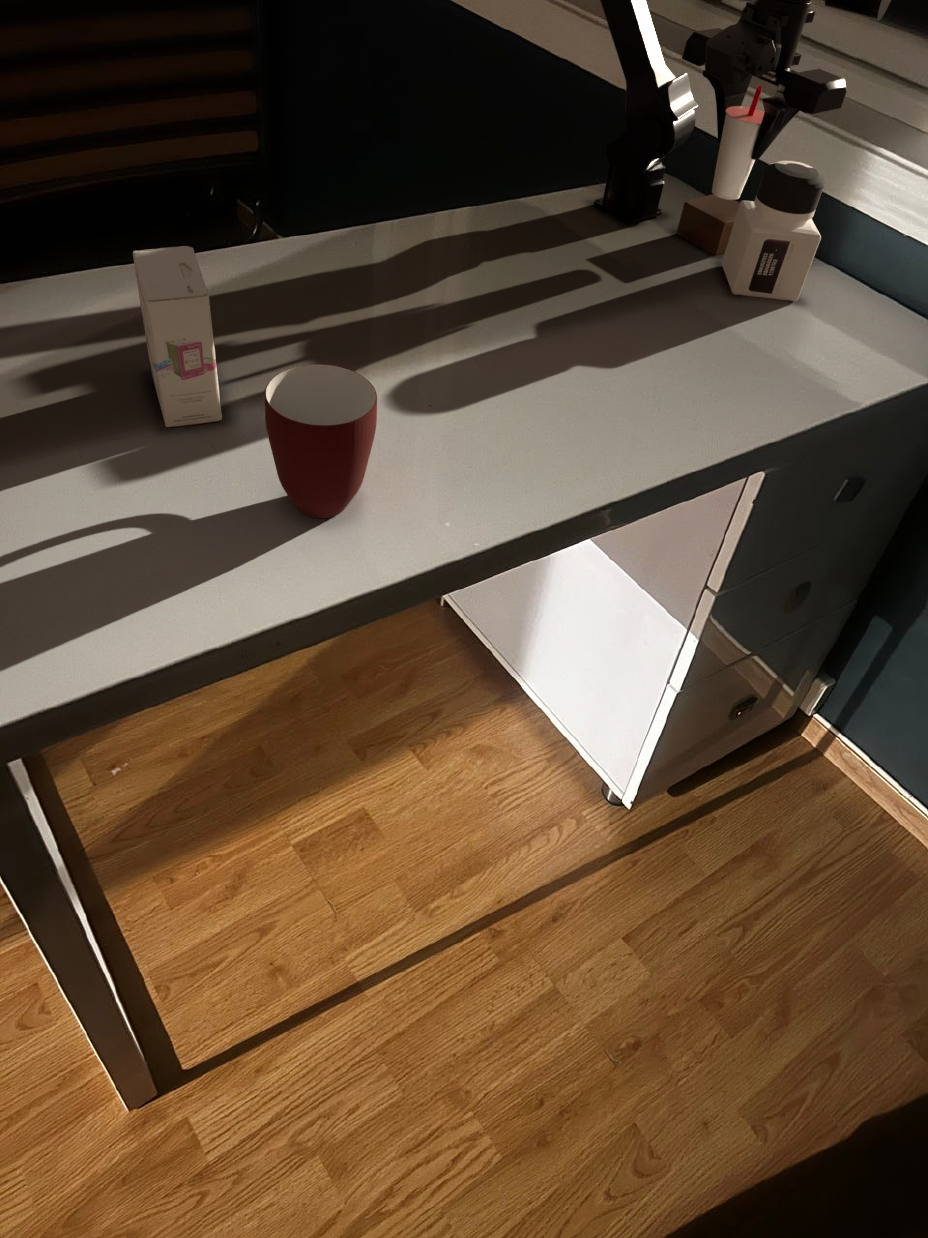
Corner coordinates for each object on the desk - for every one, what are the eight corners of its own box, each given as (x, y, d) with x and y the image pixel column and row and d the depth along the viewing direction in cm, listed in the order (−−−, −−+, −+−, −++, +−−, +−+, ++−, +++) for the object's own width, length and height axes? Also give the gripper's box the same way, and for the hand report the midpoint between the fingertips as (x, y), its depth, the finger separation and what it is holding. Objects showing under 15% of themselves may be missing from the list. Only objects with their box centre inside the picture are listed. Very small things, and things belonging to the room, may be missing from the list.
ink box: (148, 374, 87) (130, 245, 79) (205, 368, 89) (193, 242, 80) (163, 429, 82) (145, 297, 73) (223, 422, 83) (213, 292, 75)
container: (798, 302, 111) (841, 186, 101) (731, 295, 110) (769, 178, 101) (783, 271, 116) (823, 158, 107) (720, 263, 116) (755, 150, 106)
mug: (227, 484, 77) (217, 374, 70) (303, 445, 82) (302, 338, 75) (318, 551, 73) (317, 440, 66) (393, 505, 78) (400, 398, 71)
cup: (755, 203, 115) (791, 93, 107) (715, 203, 114) (748, 92, 106) (735, 184, 119) (767, 76, 110) (695, 184, 118) (725, 75, 109)
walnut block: (675, 233, 120) (684, 201, 118) (710, 223, 124) (719, 192, 121) (715, 255, 117) (725, 222, 114) (749, 244, 120) (760, 212, 118)
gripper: (667, -25, 103) (633, 131, 114) (809, 29, 93) (756, 193, 104) (735, -31, 108) (695, 118, 119) (875, 20, 99) (818, 176, 110)
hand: (738, 150), depth 113 cm, fingers closed on cup, 5 cm apart
